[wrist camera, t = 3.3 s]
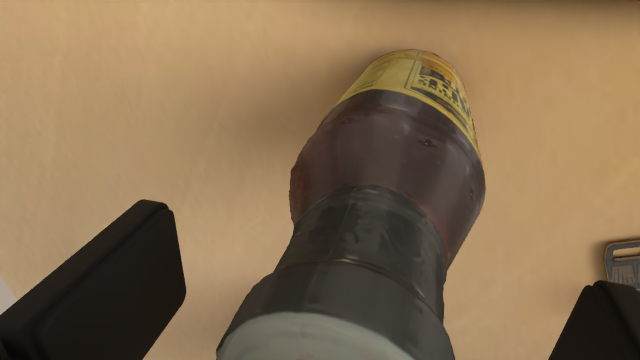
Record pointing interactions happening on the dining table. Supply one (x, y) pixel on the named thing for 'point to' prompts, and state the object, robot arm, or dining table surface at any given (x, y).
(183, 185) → the dining table surface
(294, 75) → the dining table surface
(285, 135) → the dining table surface
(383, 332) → the sauce bottle
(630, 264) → the strap clip
